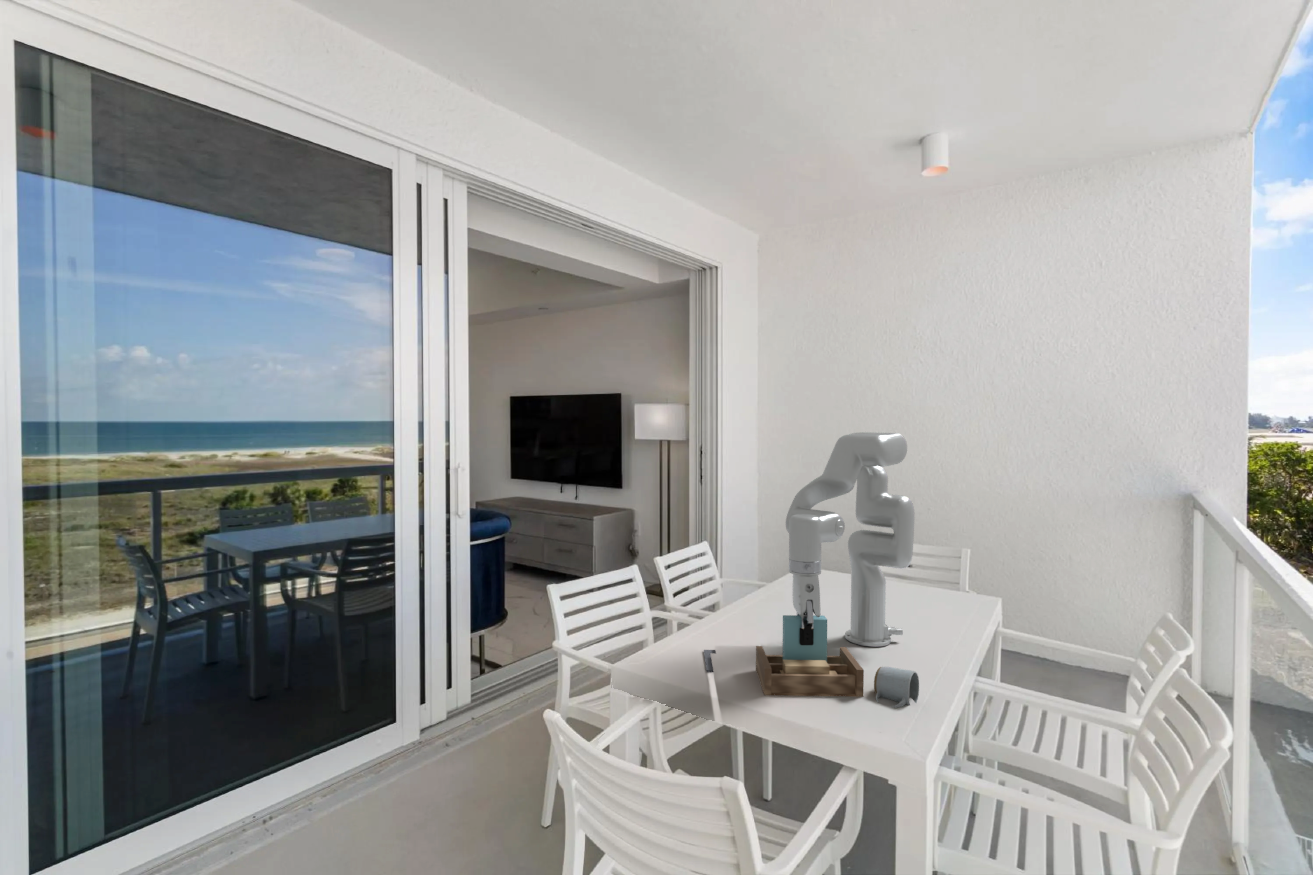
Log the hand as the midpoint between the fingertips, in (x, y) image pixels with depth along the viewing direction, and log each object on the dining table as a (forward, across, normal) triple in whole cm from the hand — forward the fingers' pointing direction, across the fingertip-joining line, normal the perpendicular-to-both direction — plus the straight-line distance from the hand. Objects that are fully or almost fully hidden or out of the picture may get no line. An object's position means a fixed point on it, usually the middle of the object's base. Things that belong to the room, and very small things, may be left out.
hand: (804, 641), depth 148 cm
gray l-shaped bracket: (+10, +12, +15) cm, 22 cm away
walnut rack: (+10, -4, 0) cm, 11 cm away
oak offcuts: (+8, -6, 0) cm, 10 cm away
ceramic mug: (+10, -11, -18) cm, 23 cm away
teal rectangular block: (+7, 0, 0) cm, 7 cm away
